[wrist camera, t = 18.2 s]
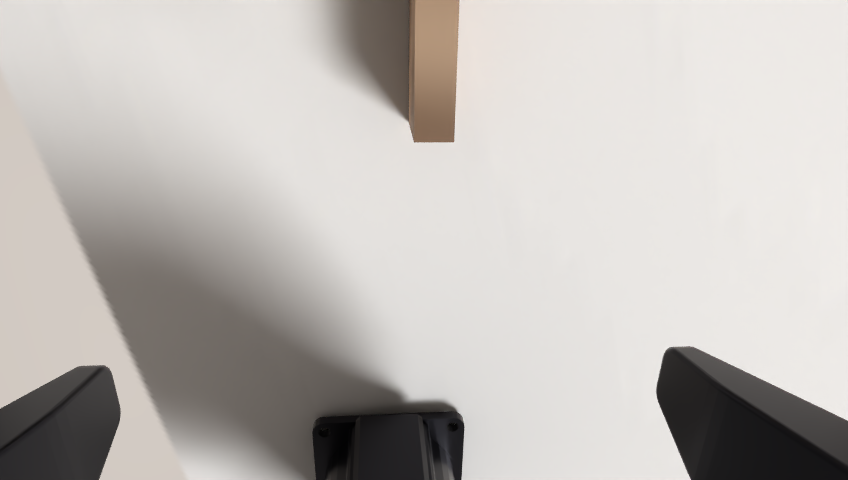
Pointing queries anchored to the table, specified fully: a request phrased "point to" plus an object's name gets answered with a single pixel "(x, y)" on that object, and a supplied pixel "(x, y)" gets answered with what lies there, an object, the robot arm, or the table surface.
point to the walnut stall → (433, 69)
